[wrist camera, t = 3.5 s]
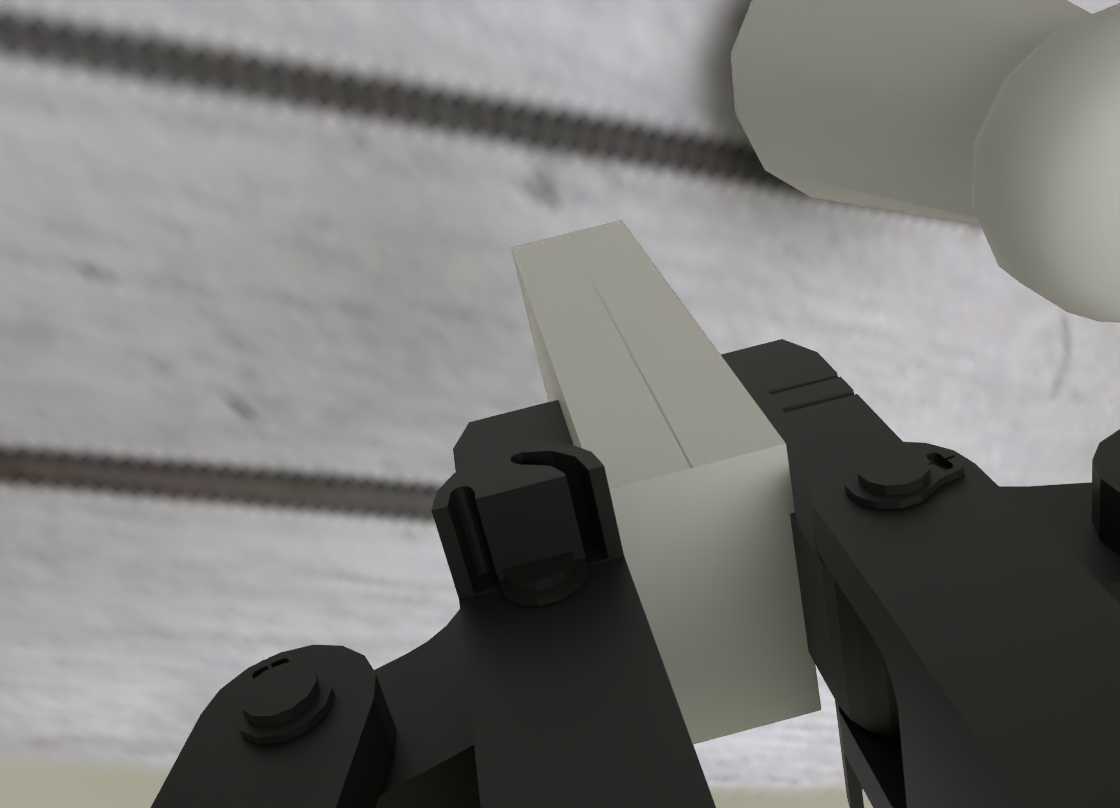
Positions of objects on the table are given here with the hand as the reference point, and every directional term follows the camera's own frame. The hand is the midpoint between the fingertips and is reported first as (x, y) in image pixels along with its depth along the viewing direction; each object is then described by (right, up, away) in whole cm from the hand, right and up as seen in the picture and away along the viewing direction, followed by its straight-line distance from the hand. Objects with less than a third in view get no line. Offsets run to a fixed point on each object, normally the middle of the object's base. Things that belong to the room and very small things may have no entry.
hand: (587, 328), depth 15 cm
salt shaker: (+6, +7, +11) cm, 14 cm away
